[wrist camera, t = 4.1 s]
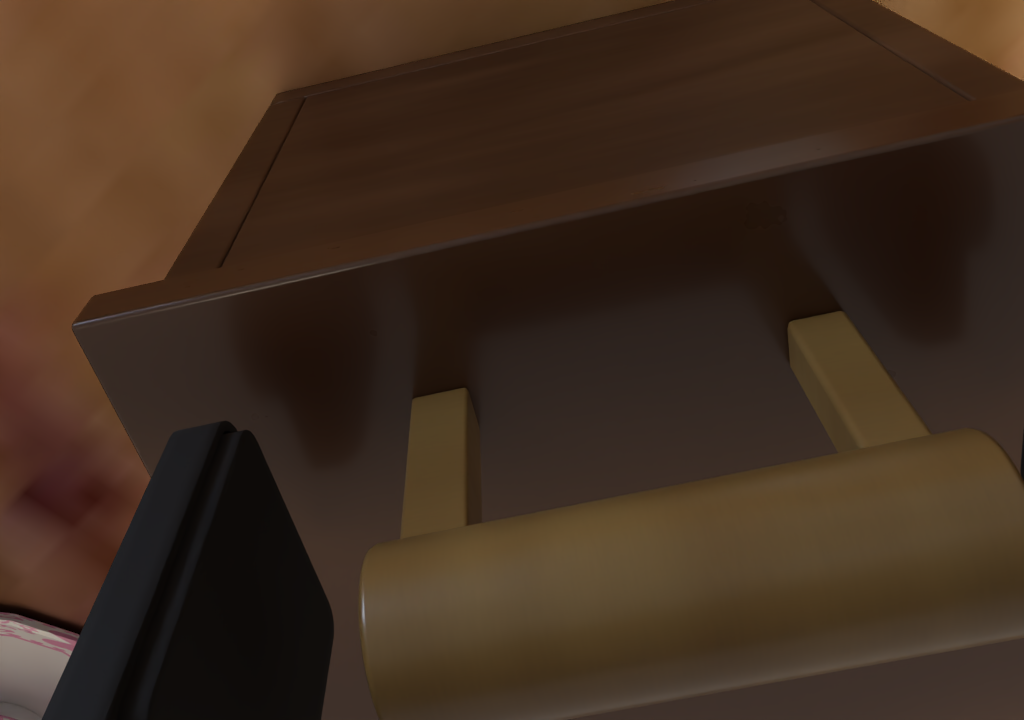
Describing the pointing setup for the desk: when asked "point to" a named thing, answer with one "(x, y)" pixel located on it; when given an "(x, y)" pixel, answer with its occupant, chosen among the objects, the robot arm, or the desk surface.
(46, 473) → the desk surface
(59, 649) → the teacup
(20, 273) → the desk surface
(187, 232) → the desk surface
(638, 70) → the chest
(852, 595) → the lid
